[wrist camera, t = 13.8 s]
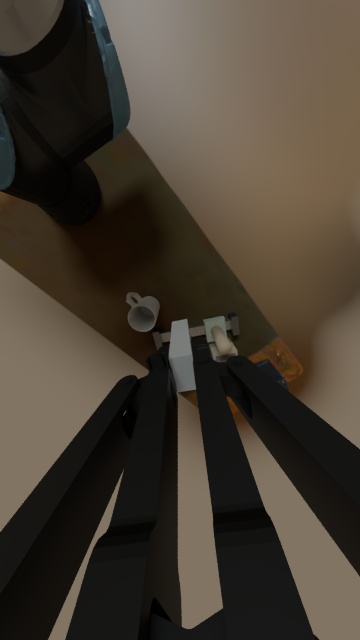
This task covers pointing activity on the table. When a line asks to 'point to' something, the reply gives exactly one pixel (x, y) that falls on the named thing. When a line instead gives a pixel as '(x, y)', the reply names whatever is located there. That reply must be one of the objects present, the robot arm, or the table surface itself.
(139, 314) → the mug
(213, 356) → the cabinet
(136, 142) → the table surface
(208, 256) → the table surface
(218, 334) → the carriage
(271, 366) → the small box
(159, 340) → the rail
